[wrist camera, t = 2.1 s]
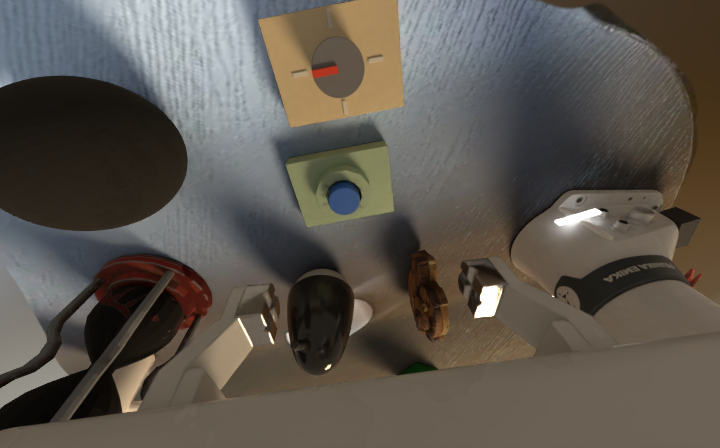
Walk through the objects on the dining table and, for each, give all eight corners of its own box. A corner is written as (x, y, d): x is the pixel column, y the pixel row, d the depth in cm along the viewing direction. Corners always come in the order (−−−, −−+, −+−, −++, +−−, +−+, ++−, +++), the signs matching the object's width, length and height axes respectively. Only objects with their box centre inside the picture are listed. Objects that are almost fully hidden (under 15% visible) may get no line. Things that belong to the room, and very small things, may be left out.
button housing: (384, 140, 32) (390, 150, 28) (391, 203, 37) (396, 218, 33) (288, 158, 32) (282, 170, 28) (307, 218, 37) (305, 235, 34)
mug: (181, 353, 52) (151, 413, 43) (171, 373, 55) (141, 431, 47) (111, 337, 47) (62, 400, 39) (105, 359, 51) (58, 422, 42)
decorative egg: (107, 178, 31) (-42, 261, 19) (61, 59, 25) (-215, 66, 12) (216, 189, 33) (145, 272, 21) (200, 81, 27) (82, 108, 14)
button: (356, 178, 30) (357, 185, 29) (361, 205, 32) (362, 212, 31) (325, 184, 30) (325, 190, 29) (332, 210, 32) (332, 217, 31)
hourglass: (190, 332, 49) (81, 543, 28) (88, 299, 42) (-155, 542, 21) (229, 283, 42) (128, 505, 22) (117, 234, 36) (-183, 487, 15)
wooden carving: (397, 243, 41) (413, 293, 32) (426, 237, 40) (450, 285, 32) (408, 309, 50) (423, 360, 41) (432, 304, 50) (451, 355, 41)
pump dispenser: (332, 248, 40) (331, 338, 27) (362, 288, 46) (373, 378, 33) (278, 273, 42) (253, 368, 29) (313, 308, 47) (305, 401, 35)
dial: (357, 33, 23) (360, 31, 20) (364, 88, 26) (368, 93, 22) (308, 43, 23) (304, 42, 20) (320, 96, 26) (318, 103, 22)
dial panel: (390, -3, 24) (397, -9, 22) (398, 101, 29) (404, 106, 27) (265, 22, 25) (257, 19, 22) (294, 121, 30) (290, 128, 27)
